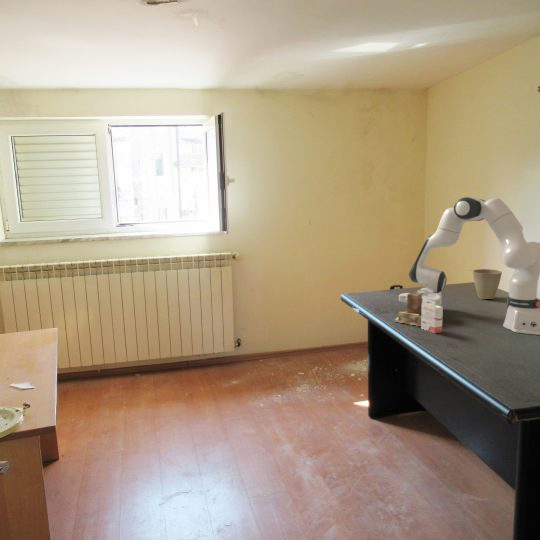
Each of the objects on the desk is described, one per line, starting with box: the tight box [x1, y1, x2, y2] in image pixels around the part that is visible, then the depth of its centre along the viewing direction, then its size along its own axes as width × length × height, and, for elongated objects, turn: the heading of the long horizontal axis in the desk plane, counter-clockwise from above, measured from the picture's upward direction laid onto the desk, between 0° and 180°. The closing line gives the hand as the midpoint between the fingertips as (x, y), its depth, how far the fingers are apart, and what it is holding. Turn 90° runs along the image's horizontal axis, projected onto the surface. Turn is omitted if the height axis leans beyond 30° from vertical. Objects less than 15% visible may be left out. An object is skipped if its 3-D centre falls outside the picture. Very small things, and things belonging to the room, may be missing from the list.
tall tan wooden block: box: [406, 291, 422, 315], centre depth 230 cm, size 5×7×12 cm, turn 143°
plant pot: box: [472, 268, 502, 300], centre depth 268 cm, size 15×15×16 cm
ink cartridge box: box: [420, 298, 444, 334], centre depth 214 cm, size 9×5×15 cm, turn 27°
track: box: [393, 310, 422, 327], centre depth 230 cm, size 14×15×6 cm
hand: (414, 302), depth 229 cm, fingers open, 7 cm apart
